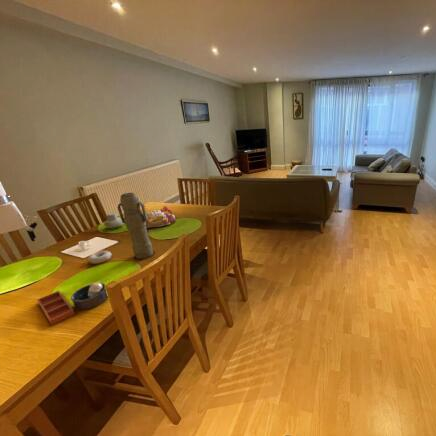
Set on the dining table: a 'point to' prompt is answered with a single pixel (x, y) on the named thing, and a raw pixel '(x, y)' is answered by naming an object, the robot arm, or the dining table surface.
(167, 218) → the candy landscape model
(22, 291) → the dining table surface
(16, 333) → the dining table surface
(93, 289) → the egg
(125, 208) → the grey tall piece
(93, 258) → the donut
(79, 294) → the bowl
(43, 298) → the brown compartment tray
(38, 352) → the dining table surface
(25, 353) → the dining table surface
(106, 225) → the air freshener
